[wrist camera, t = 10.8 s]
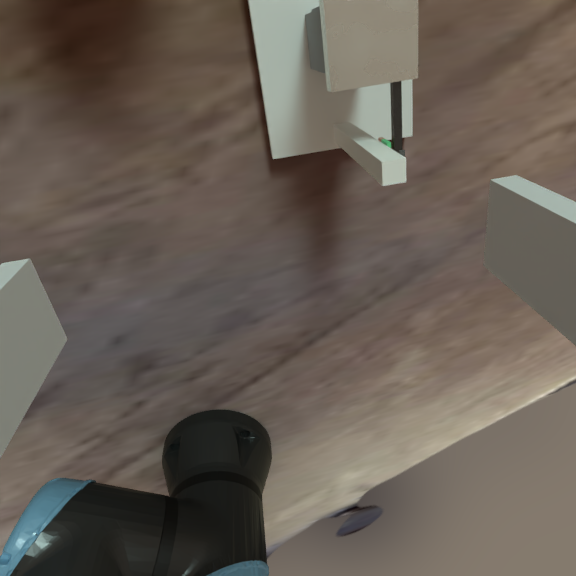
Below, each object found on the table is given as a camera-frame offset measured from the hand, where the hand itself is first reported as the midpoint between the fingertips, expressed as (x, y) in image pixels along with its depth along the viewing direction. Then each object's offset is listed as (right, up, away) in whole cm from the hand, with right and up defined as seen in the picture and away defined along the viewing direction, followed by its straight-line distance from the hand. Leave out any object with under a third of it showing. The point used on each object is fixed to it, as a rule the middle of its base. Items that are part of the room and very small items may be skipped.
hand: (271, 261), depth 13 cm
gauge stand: (+4, +22, +28) cm, 36 cm away
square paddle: (+5, +18, +25) cm, 31 cm away
